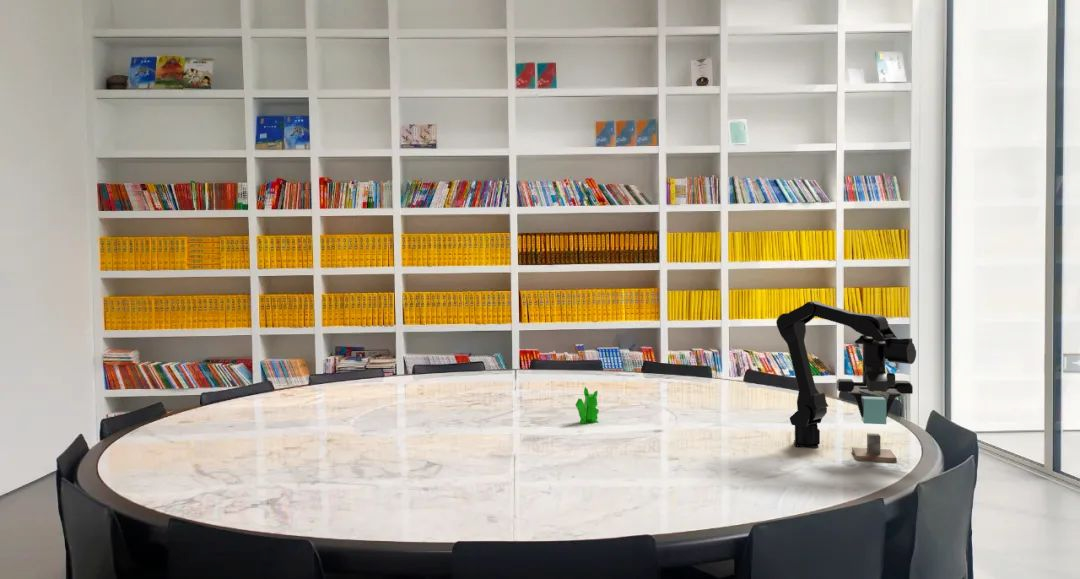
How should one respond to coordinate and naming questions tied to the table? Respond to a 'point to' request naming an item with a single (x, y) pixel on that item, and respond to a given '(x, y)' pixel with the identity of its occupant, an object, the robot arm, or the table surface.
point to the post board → (874, 457)
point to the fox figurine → (588, 408)
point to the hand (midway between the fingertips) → (873, 417)
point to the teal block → (874, 410)
